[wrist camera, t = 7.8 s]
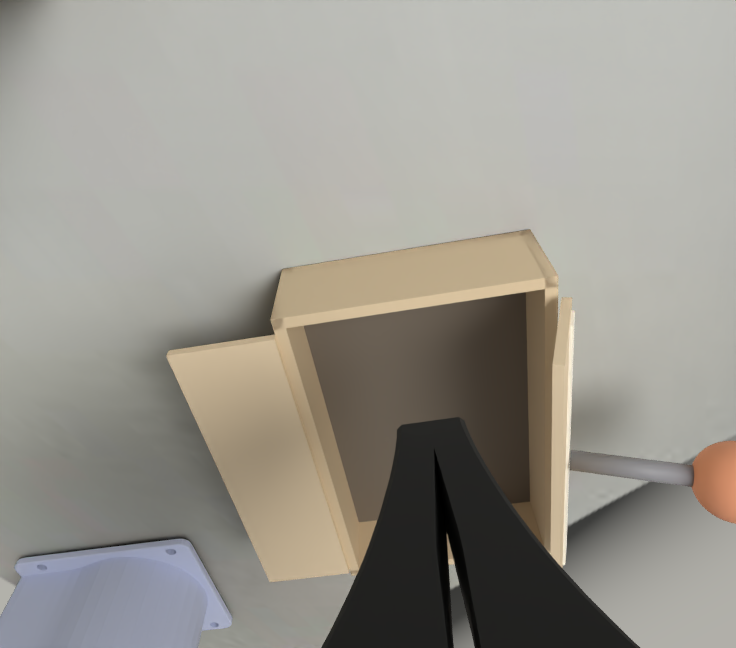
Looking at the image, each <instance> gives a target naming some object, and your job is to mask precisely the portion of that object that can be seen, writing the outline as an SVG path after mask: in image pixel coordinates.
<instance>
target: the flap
mask: <svg viewBox="0 0 736 648" xmlns="http://www.w3.org/2000/svg"><path fill="white" fill-rule="evenodd" d="M574 324H575V311H572V298H567V297H562V298H561V306H560V313H559V321H558V328H557V335H556V343H555V350H554V358H553V369H552V460H551V552H550V555H551V556H552V557H553V558H554V559H555V560H556V562H557V563H558V564H559V565H560V566H561V567H562V569H563V565H565V559H566V545H567V518H568V491H569V463H570V470H573V471H581V472H588V473H595V474H602V475H610V476H617V477H624V478H631V479H639V480H646V481H653V482H661V483H668V484H675V485H682V486H690V487H692V490H693V492H694V494H695V496H696V498H697V499H698V501H699V502H700V504H701V505H702V506H703V507H704V508H705V509H706V510H707V511H709V512H710V513H711V514H713V515H714V516H716V517H718V518H720V519H722V520H725V521H728V522H731V523H735V524H736V441H723V442H718V443H715V444H712V445H710V446H708V447H706V448H705V449H704V450H702V451H701V452H700V453H699V454H698V455H697V457H696V458H695V460H694V462H693V464H692V465H687V464H679V463H671V462H663V461H655V460H647V459H639V458H631V457H623V456H615V455H607V454H599V453H591V452H583V451H575V450H571V458H570V435H571V408H572V380H573V352H574Z"/></svg>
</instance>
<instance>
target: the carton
mask: <svg viewBox="0 0 736 648" xmlns="http://www.w3.org/2000/svg"><path fill="white" fill-rule="evenodd" d="M270 320H271V324H272V327H273V330H274V333H275V335H268V336H262V337H255V338H248V339H242V340H235V341H228V342H222V343H215V344H209V345H202V346H195V347H189V348H182V349H176V350H169V351H168V353H167V355H166V357H167V359H168V361H169V363H170V365H171V368H172V370H173V372H174V374H175V376H176V379H177V381H178V383H179V385H180V387H181V389H182V392H183V394H184V396H185V398H186V400H187V403H188V405H189V407H190V409H191V411H192V413H193V416H194V418H195V420H196V422H197V424H198V427H199V429H200V431H201V433H202V435H203V437H204V440H205V442H206V444H207V446H208V448H209V451H210V453H211V455H212V457H213V459H214V461H215V464H216V466H217V468H218V470H219V472H220V474H221V477H222V479H223V481H224V483H225V485H226V488H227V490H228V492H229V494H230V496H231V498H232V501H233V503H234V505H235V507H236V509H237V512H238V514H239V516H240V518H241V520H242V522H243V525H244V527H245V529H246V531H247V533H248V536H249V538H250V540H251V542H252V544H253V546H254V549H255V551H256V553H257V555H258V557H259V560H260V562H261V564H262V566H263V568H264V570H265V573H266V575H267V577H268V579H269V581H270V582H277V581H286V580H294V579H303V578H312V577H320V576H329V575H338V574H347V573H349V569H350V572H351V575H352V576H355V575H357V573H358V571H359V569H360V566H361V564H362V561H363V559H364V556H365V554H366V551H367V548H368V546H369V543H370V540H371V537H372V534H373V531H374V528H375V526H376V523H377V520H378V517H379V514H380V511H381V507H382V504H383V500H384V497H385V493H386V489H387V486H388V482H389V478H390V474H391V469H392V465H393V460H394V454H395V447H396V439H397V429H398V428H399V427H400V426H401V425H403V424H410V423H418V422H425V421H432V420H440V419H447V418H455V417H460V418H461V419H463V420H465V423H466V426H467V429H468V431H469V433H470V436H471V438H472V440H473V442H474V444H475V446H476V448H477V450H478V452H479V453H480V455H481V457H482V459H483V460H484V462H485V464H486V466H487V467H488V469H489V471H490V472H491V474H492V475H493V477H494V479H495V480H496V482H497V483H498V485H499V486H500V488H501V489H502V491H503V492H504V494H505V495H506V497H507V498H508V500H509V501H510V503H511V504H512V505H513V507H514V508H515V510H516V511H517V512H518V514H519V515H520V516H521V518H522V519H523V520H524V522H525V523H526V524H527V526H528V527H529V528H530V530H531V531H532V532H533V534H534V535H535V536H536V537H537V539H538V540H539V541H540V542H541V544H542V545H543V546H544V547H545V549H546V550H547V551H548V552H549V553H550V552H551V460H552V369H553V358H554V350H555V343H556V335H557V326H558V274H557V273H556V271H555V270H554V268H553V266H552V265H551V263H550V261H549V260H548V258H547V256H546V255H545V253H544V251H543V250H542V248H541V246H540V245H539V243H538V242H537V240H536V238H535V237H534V235H533V233H532V232H531V230H523V231H517V232H511V233H505V234H498V235H492V236H486V237H480V238H473V239H467V240H461V241H455V242H449V243H442V244H436V245H430V246H424V247H417V248H411V249H405V250H399V251H392V252H386V253H380V254H374V255H368V256H361V257H355V258H349V259H343V260H336V261H330V262H324V263H318V264H311V265H305V266H299V267H293V268H287V269H282V272H281V277H280V281H279V285H278V289H277V294H276V298H275V302H274V306H273V311H272V315H271V319H270ZM447 546H448V564H449V565H451V564H455V563H454V559H453V555H452V551H451V547H450V543H449V539H448V535H447Z"/></svg>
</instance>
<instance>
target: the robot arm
mask: <svg viewBox="0 0 736 648" xmlns="http://www.w3.org/2000/svg"><path fill="white" fill-rule="evenodd" d="M447 535H448V539H449V543H450V547H451V551H452V555H453V559H454V563H455V568H456V572H457V576H458V580H459V584H460V588H461V592H462V596H463V600H464V604H465V608H466V612H467V616H468V620H469V624H470V628H471V632H472V636H473V641H474V646H475V648H640V647H639V646H638V645H637V644H635V643H634V642H633V641H632V640H631V639H630V638H629V637H628V636H627V635H626V634H625V633H624V632H623V631H622V630H621V629H620V628H619V627H618V626H617V625H616V624H615V623H614V622H613V621H612V620H611V619H610V618H609V617H608V616H607V615H606V614H605V613H604V612H603V611H602V610H601V609H600V608H599V607H598V606H597V605H596V604H595V603H594V602H593V601H592V600H591V599H590V598H589V597H588V596H587V595H586V594H585V593H584V592H583V591H582V590H581V589H580V587H579V586H578V585H577V584H576V583H575V582H574V581H573V580H572V579H571V578H570V576H569V575H568V574H567V573H566V572H565V571H564V570H563V569H562V567H561V566H560V565H559V564H558V563H557V562H556V560H555V559H554V558H553V557H552V556H551V555H550V553H549V552H548V551H547V550H546V549H545V547H544V546H543V545H542V544H541V542H540V541H539V540H538V539H537V537H536V536H535V535H534V534H533V532H532V531H531V530H530V528H529V527H528V526H527V524H526V523H525V522H524V520H523V519H522V518H521V516H520V515H519V514H518V512H517V511H516V510H515V508H514V507H513V505H512V504H511V503H510V501H509V500H508V498H507V497H506V495H505V494H504V492H503V491H502V489H501V488H500V486H499V485H498V483H497V482H496V480H495V479H494V477H493V475H492V474H491V472H490V471H489V469H488V467H487V466H486V464H485V462H484V460H483V459H482V457H481V455H480V453H479V452H478V450H477V448H476V446H475V444H474V442H473V440H472V438H471V436H470V433H469V431H468V429H467V426H466V423H465V420H463V419H461V418H460V417H455V418H447V419H440V420H432V421H425V422H418V423H410V424H403V425H401V426H400V427H399V428H398V429H397V439H396V447H395V454H394V460H393V465H392V469H391V474H390V478H389V482H388V486H387V489H386V493H385V497H384V500H383V504H382V507H381V511H380V514H379V517H378V520H377V523H376V526H375V528H374V531H373V534H372V537H371V540H370V543H369V546H368V548H367V551H366V554H365V556H364V559H363V561H362V564H361V566H360V569H359V571H358V573H357V576H356V578H355V580H354V583H353V585H352V587H351V589H350V592H349V594H348V596H347V598H346V600H345V602H344V604H343V606H342V608H341V610H340V612H339V615H338V617H337V619H336V621H335V623H334V625H333V627H332V629H331V631H330V633H329V634H328V636H327V638H326V640H325V642H324V644H323V646H322V647H321V648H454V647H453V635H452V617H451V599H450V581H449V564H448V546H447ZM14 568H15V570H16V571H17V573H18V574H19V575H20V576H21V579H20V580H19V582H18V584H17V586H16V588H15V590H14V592H13V594H12V596H11V597H10V599H9V601H8V603H7V605H6V607H5V609H4V610H3V612H2V614H1V616H0V648H198V645H199V641H200V636H201V632H202V631H203V630H212V629H221V628H228V627H229V626H231V624H232V616H231V614H230V612H229V611H228V609H227V607H226V605H225V603H224V602H223V600H222V598H221V596H220V594H219V592H218V591H217V589H216V587H215V585H214V583H213V582H212V580H211V578H210V576H209V574H208V573H207V571H206V569H205V567H204V565H203V564H202V562H201V560H200V558H199V556H198V555H197V553H196V551H195V549H194V547H193V546H192V544H191V543H190V542H189V541H188V540H186V539H172V540H164V541H155V542H147V543H139V544H131V545H123V546H115V547H107V548H99V549H90V550H82V551H74V552H66V553H58V554H50V555H42V556H34V557H25V558H21V559H19V560H18V561H17V562H16V564H15V567H14Z"/></svg>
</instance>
